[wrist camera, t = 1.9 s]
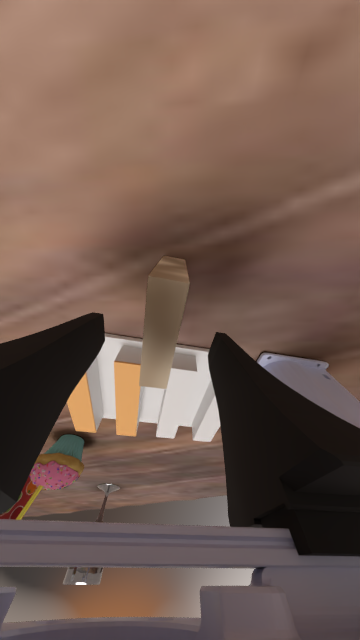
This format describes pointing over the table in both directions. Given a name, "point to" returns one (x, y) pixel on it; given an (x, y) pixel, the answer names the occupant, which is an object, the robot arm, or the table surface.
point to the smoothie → (20, 501)
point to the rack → (146, 392)
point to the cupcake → (57, 467)
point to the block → (162, 320)
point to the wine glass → (90, 573)
